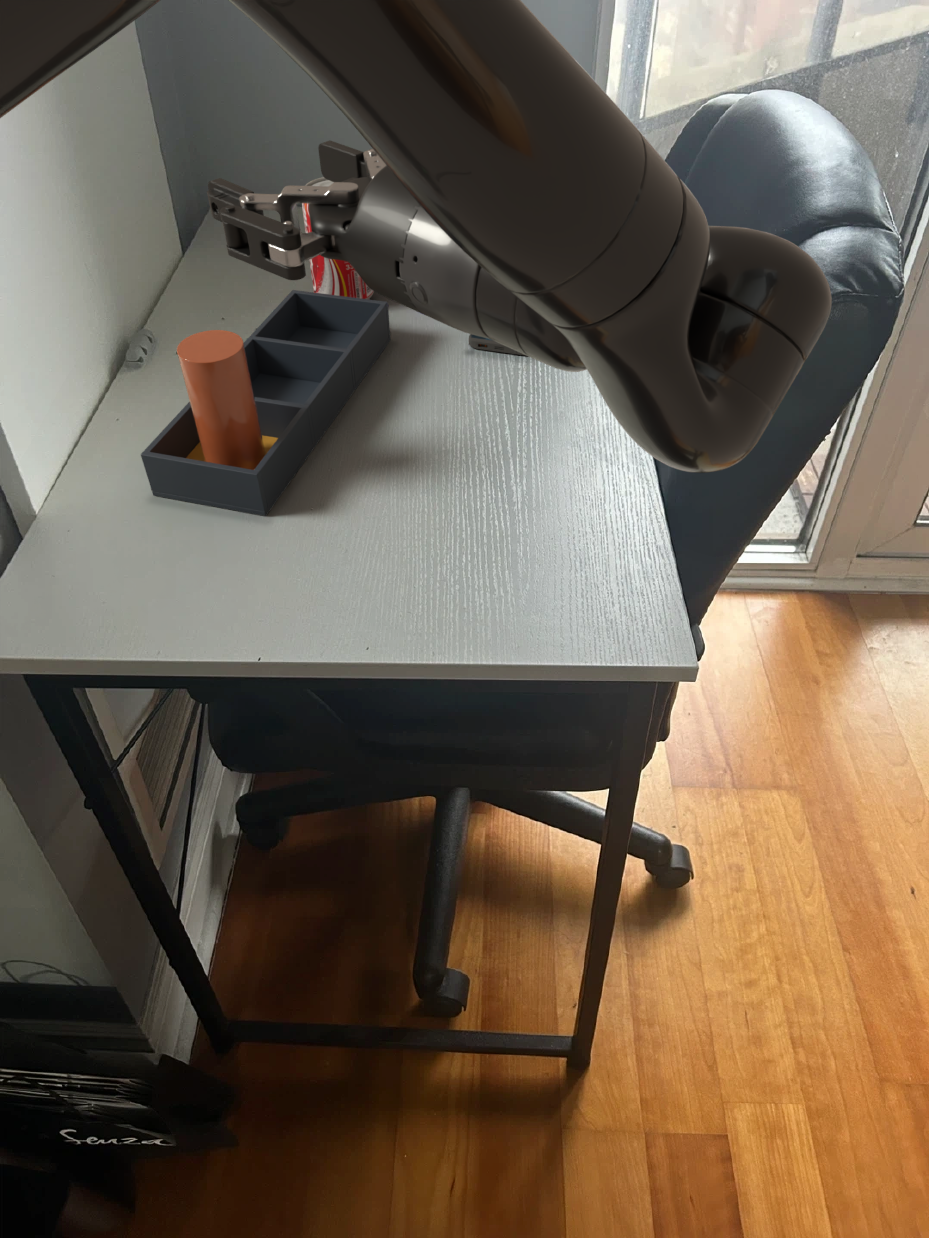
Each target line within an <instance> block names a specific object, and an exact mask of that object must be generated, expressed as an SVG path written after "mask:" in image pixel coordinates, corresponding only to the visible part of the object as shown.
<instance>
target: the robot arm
mask: <svg viewBox="0 0 929 1238" xmlns="http://www.w3.org/2000/svg"><path fill="white" fill-rule="evenodd" d="M160 1H161V0H0V119H2V118H3V117H5V116H6V115H7V114H9V113H10V112H12V110H14V109H15V108H16V107H19V105H21V104H22V103H23V102H25V101H26V100H28V99H29V98H30V97H31V96H32V95H34V94H35V93H37V92H38V91H39V90H41V89H42V88H44V87H45V86H46V85H48V84H49V83H50V82H52V81H53V80H55V79H56V78H57V77H59V76H61V75H62V74H63V73H65V71H67V70H68V69H70V68H71V67H73V66H74V65H76V64H77V63H79V62H80V61H81V60H82V59H85V57H87V56H88V55H89V54H91V53H92V52H94V51H95V50H97V49H98V48H100V47H101V46H102V45H103V44H105V43H106V42H108V41H109V40H110V39H112V38H114V36H116V35H117V34H119V32H121V31H122V30H124V29H126V28H127V27H128V26H129V25H130V24H132V23H133V22H135V21H136V20H137V19H139V18H140V17H142V16H143V15H144V14H145V13H147V12H148V11H149V10H151V9H152V8H153V7H154V6H156V4H158V3H159V2H160ZM227 1H228V2H230V4H232V5H233V6H234V7H235V8H236V9H237V10H239V11H240V12H241V13H242V14H243V15H244V16H246V18H248V19H249V20H250V21H251V22H253V23H254V24H255V26H257V27H258V28H259V29H260V30H261V31H262V32H263V33H264V34H265V35H267V36H268V37H269V38H270V39H271V40H272V41H273V42H274V43H275V44H276V45H277V46H278V48H280V49H282V51H283V52H284V53H285V54H286V55H287V56H288V57H289V58H290V59H291V60H292V61H293V62H294V63H295V64H296V65H297V66H298V67H299V68H300V69H301V70H302V71H304V73H305V74H306V75H307V76H309V78H310V79H311V80H312V81H313V83H315V84H316V85H317V86H318V88H319V89H320V90H321V91H322V92H323V93H324V94H325V95H326V96H327V98H329V99H330V101H331V102H332V103H333V104H334V105H335V106H336V107H337V108H338V110H339V111H341V113H342V114H343V115H344V116H345V118H346V119H347V120H348V121H349V122H350V123H351V125H353V127H354V128H355V129H356V131H357V132H358V133H359V134H360V135H361V136H362V137H363V139H364V140H365V141H366V142H367V144H369V146H370V147H371V148H370V149H367V150H364V151H362V150H359V149H356V148H353V147H350V146H348V145H345V144H342V143H339V142H336V141H333V140H327V141H324V142H323V141H322V142H320V143H319V144H318V147H317V149H318V159H319V167H320V172H321V175H322V177H324V178H325V179H327V180H330V181H332V182H334V183H332V184H331V185H330V186H305V185H290V184H289V185H286V186H284V187H283V188H282V190H281V191H280V193H255V191H253V190H250V189H248V188H245V187H243V186H241V185H238V184H236V183H234V182H231V181H229V180H227V179H224V178H222V177H218V178H216V179H212V180H210V181H208V183H207V189H208V190H207V191H206V194H207V199H208V205H209V210H210V213H211V217H212V219H214V220H216V221H218V222H221V223H222V226H223V232H224V237H225V242H226V245H225V246H226V250H227V255H228V256H229V257H232V258H235V259H237V260H238V261H242V262H244V263H245V264H249V265H252V266H254V267H256V268H258V269H261V270H263V271H265V272H268V273H271V274H273V275H276V276H278V277H280V278H282V279H285V280H288V281H299V280H302V279H304V278H306V277H307V272H306V265H305V263H306V262H307V261H310V259H312V258H314V257H316V256H318V255H321V256H322V257H325V258H328V259H336V260H343V261H347V262H349V263H350V264H351V265H352V267H353V268H354V269H355V270H356V272H357V273H358V274H359V276H360V277H361V278H362V280H363V281H364V282H365V283H366V285H367V286H368V287H369V288H370V289H372V290H373V291H374V293H375V294H378V295H379V296H382V297H384V298H386V299H388V300H391V301H393V302H395V303H398V304H400V305H402V306H404V307H406V308H408V309H411V310H412V311H415V312H417V313H418V314H419V313H420V314H422V315H424V316H426V317H428V318H430V319H433V320H435V321H437V322H439V323H441V324H444V325H446V326H448V327H450V328H452V329H455V330H458V331H459V332H462V333H466V334H469V335H470V334H472V335H476V336H481V337H484V338H488V339H491V340H493V341H496V342H498V343H500V344H502V345H504V346H507V347H509V348H511V349H513V350H516V351H518V352H520V353H522V354H524V355H523V356H526V357H529V358H531V359H533V360H535V361H537V362H539V363H542V364H544V365H547V366H549V367H551V368H554V369H556V370H560V371H564V372H569V373H579V372H584V371H587V372H588V374H589V376H590V378H591V379H592V380H593V383H594V385H595V386H596V388H597V389H598V391H599V394H600V396H601V397H602V400H603V401H604V402H605V404H606V406H607V407H608V409H609V411H610V412H611V414H612V415H613V417H614V419H615V420H616V421H617V422H618V424H619V425H620V426H621V428H622V429H623V430H624V432H625V433H626V434H627V435H628V436H629V438H631V439H632V440H633V442H634V443H636V445H638V446H639V447H640V449H642V450H643V451H644V452H646V453H647V454H648V455H650V456H651V457H652V458H653V459H655V460H657V461H659V462H660V463H662V464H664V465H666V466H668V467H670V468H673V469H676V470H678V471H683V472H687V473H691V474H692V473H693V474H708V473H715V472H716V473H717V472H720V471H723V470H726V469H728V468H732V467H733V466H734V465H736V464H738V463H740V462H741V461H742V460H744V459H745V458H746V457H747V456H748V455H749V454H750V452H751V451H753V449H754V447H756V445H757V444H758V442H759V441H760V439H761V438H762V436H763V434H764V432H765V431H766V429H767V427H768V426H769V425H770V422H771V420H772V419H773V417H774V415H775V413H776V412H777V410H778V409H779V407H780V404H781V403H782V401H783V400H784V398H785V396H786V394H787V393H788V391H789V389H790V388H791V386H792V384H793V383H794V381H795V379H796V378H797V376H798V374H799V373H800V372H801V370H802V368H803V366H804V363H805V362H806V361H807V359H808V357H809V356H810V354H811V353H812V352H813V349H814V348H815V346H816V344H817V342H818V340H819V339H820V337H821V335H822V334H823V332H824V330H825V328H826V326H827V323H828V321H829V319H830V316H831V312H832V306H833V298H832V297H833V296H832V292H831V286H830V284H829V281H828V279H827V277H826V275H825V273H824V271H823V270H822V268H821V267H820V265H819V264H818V263H817V261H815V259H814V258H813V257H812V256H811V255H810V254H809V253H808V252H806V251H805V250H804V249H803V248H801V247H800V246H798V245H797V244H795V243H793V242H792V241H790V240H788V239H786V238H783V237H781V236H778V235H775V234H773V233H770V232H767V231H763V230H758V229H755V228H754V229H753V228H749V227H742V226H725V225H724V226H723V225H721V226H720V225H709V222H708V218H707V217H706V214H705V211H704V209H703V207H702V206H701V204H700V202H699V200H698V199H697V197H696V196H695V194H694V193H693V192H692V190H690V189H689V187H688V186H687V185H686V183H685V182H684V181H683V180H682V179H681V178H680V177H679V176H678V175H677V173H676V172H675V171H674V170H673V168H672V167H671V166H670V165H669V164H668V163H667V162H666V160H665V159H664V158H663V156H661V154H660V153H659V152H658V151H657V150H656V148H655V147H654V146H653V145H652V144H651V143H650V142H649V140H648V139H647V138H646V137H645V135H644V134H643V133H642V132H641V131H640V130H639V129H638V127H637V126H636V125H635V124H634V123H633V121H631V119H629V116H627V115H626V114H625V113H624V111H623V110H622V109H621V108H620V107H619V106H618V104H616V103H615V102H614V100H613V99H612V98H611V97H610V96H609V94H607V93H606V91H605V90H604V89H603V88H602V87H601V86H600V84H598V83H597V82H596V80H595V79H594V78H593V77H592V76H591V74H589V73H588V72H587V71H586V69H585V68H584V67H583V66H582V65H581V64H580V63H579V62H578V61H577V59H576V58H575V57H574V56H573V55H572V54H571V53H570V52H569V51H568V50H567V49H566V47H564V45H562V44H561V42H560V41H559V40H558V39H557V38H556V37H555V36H554V35H553V34H552V32H551V31H550V30H549V29H548V28H547V27H546V26H545V25H544V24H543V23H542V22H541V21H540V20H539V19H538V17H537V16H536V15H535V14H534V13H533V12H532V11H531V10H530V9H529V8H528V7H527V6H526V4H525V3H524V2H523V1H522V0H227ZM302 203H309V216H310V223H311V230H312V232H309V233H306V232H303V231H302V229H301V224H300V216H299V210H298V204H302ZM264 211H270V212H271V211H274V212H277V213H278V215H279V218H280V221H279V220H277V219H273V218H272V217H268V216H266V215H265V214H264Z"/></svg>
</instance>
